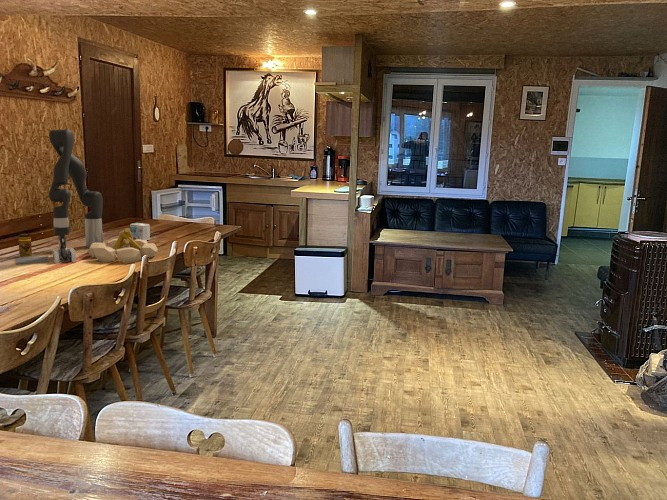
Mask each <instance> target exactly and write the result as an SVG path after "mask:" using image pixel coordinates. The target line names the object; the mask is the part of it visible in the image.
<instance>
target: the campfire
mask: <svg viewBox="0 0 667 500" xmlns="http://www.w3.org/2000/svg"><path fill="white" fill-rule="evenodd" d="M118 234H119V235H118V238H113V239H110V240H108V241H107V242H103V243H92V244H91V246H90V247H88V249H87V253H88V254H89V256H90V258H93V259H94V258H95V259H96V260H97V261H98V262H102V263H110V262H113V261H116V259H117V260H118V261H120V262H121V263H124V264H129V263H131V264H132V263H137V262H140V261H141V260H142V259H141V258H142V257H143V255H148V256H149V257H153V256H154V255H156V253H157V252H158V250H159V249H158V247H157V246H156V244H155V243H154V242H153V243H150V242H149V243H148V241H146V240H141V239H137V240H133V237H132V234H131V231H130V228H129V227H123V229H122V230H121V231H119V233H118ZM106 243H107V244H106ZM116 257H117V258H116ZM154 257H155V256H154ZM154 257H153V258H154Z"/></svg>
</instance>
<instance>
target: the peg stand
mask: <svg viewBox="0 0 667 500" xmlns="http://www.w3.org/2000/svg"><path fill="white" fill-rule="evenodd" d="M67 248H68V247H66V248H62V258H60V262H61V263H70V262H71V259H70V258H67Z"/></svg>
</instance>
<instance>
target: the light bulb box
mask: <svg viewBox="0 0 667 500" xmlns="http://www.w3.org/2000/svg"><path fill="white" fill-rule="evenodd" d="M129 226H130V228H129V229H130V231H131V234H132V237H133V240H137V239H141V240H146V241H147V240H150V241H151V237H150V236H151V234H150V233H151V230H150V228H151V225H150V224H149V223H142V222H141V223H140V222H134V223H130V225H129ZM147 242H148V241H147Z"/></svg>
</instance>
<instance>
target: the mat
mask: <svg viewBox="0 0 667 500" xmlns="http://www.w3.org/2000/svg"><path fill="white" fill-rule="evenodd" d="M48 257H49V256H34V257H33V256H31V257H26V258H24V257H16V258H15V265H27V264H28V265H29V264H45V263H50V260H49V258H48Z"/></svg>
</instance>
